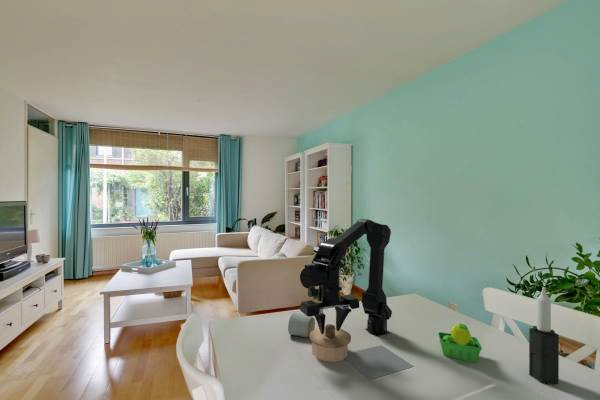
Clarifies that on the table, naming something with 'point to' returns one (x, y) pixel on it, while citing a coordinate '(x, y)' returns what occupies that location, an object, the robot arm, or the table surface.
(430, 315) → the table surface
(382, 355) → the mat
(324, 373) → the table surface
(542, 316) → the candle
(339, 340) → the lid
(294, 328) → the ceramic mug
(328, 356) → the bowl
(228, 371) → the table surface
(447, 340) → the fruit basket
